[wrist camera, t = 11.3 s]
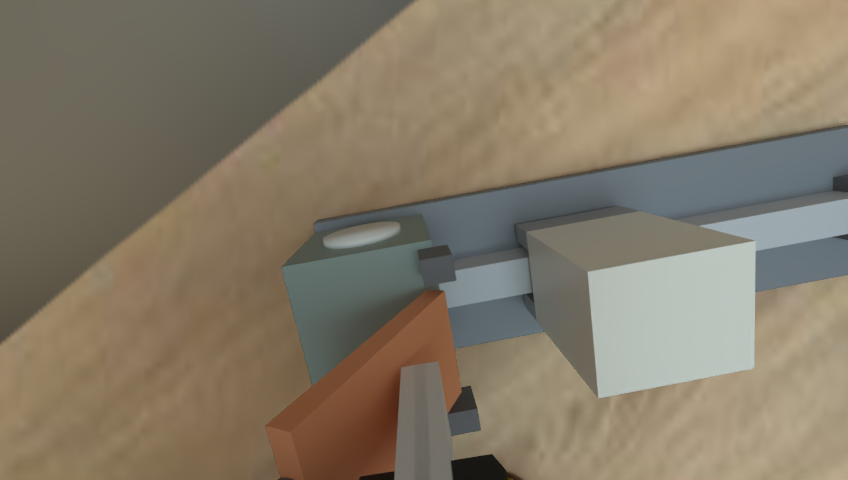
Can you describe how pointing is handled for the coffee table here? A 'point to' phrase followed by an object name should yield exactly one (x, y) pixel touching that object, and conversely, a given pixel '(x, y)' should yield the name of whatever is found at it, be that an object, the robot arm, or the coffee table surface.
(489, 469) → the robot arm
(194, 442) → the coffee table surface
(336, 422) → the lever
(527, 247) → the carriage
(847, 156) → the rail bench
